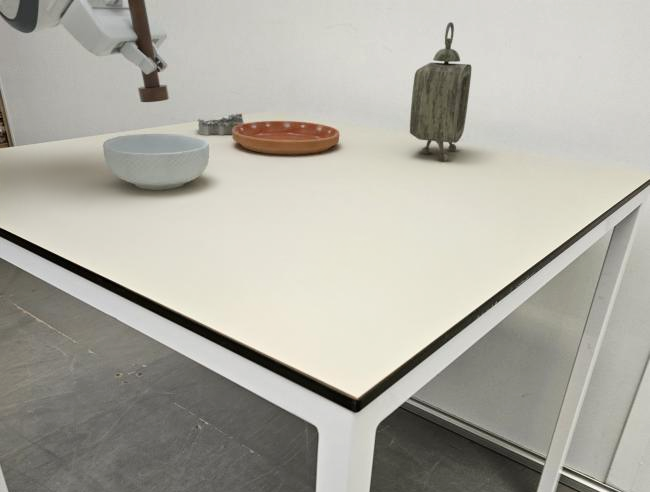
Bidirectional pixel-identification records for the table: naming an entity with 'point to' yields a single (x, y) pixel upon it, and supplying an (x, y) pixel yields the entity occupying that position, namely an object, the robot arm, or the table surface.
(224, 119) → the egg carton
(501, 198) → the table surface
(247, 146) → the saucer
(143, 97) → the stirring stick
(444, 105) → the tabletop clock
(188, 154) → the cereal bowl
